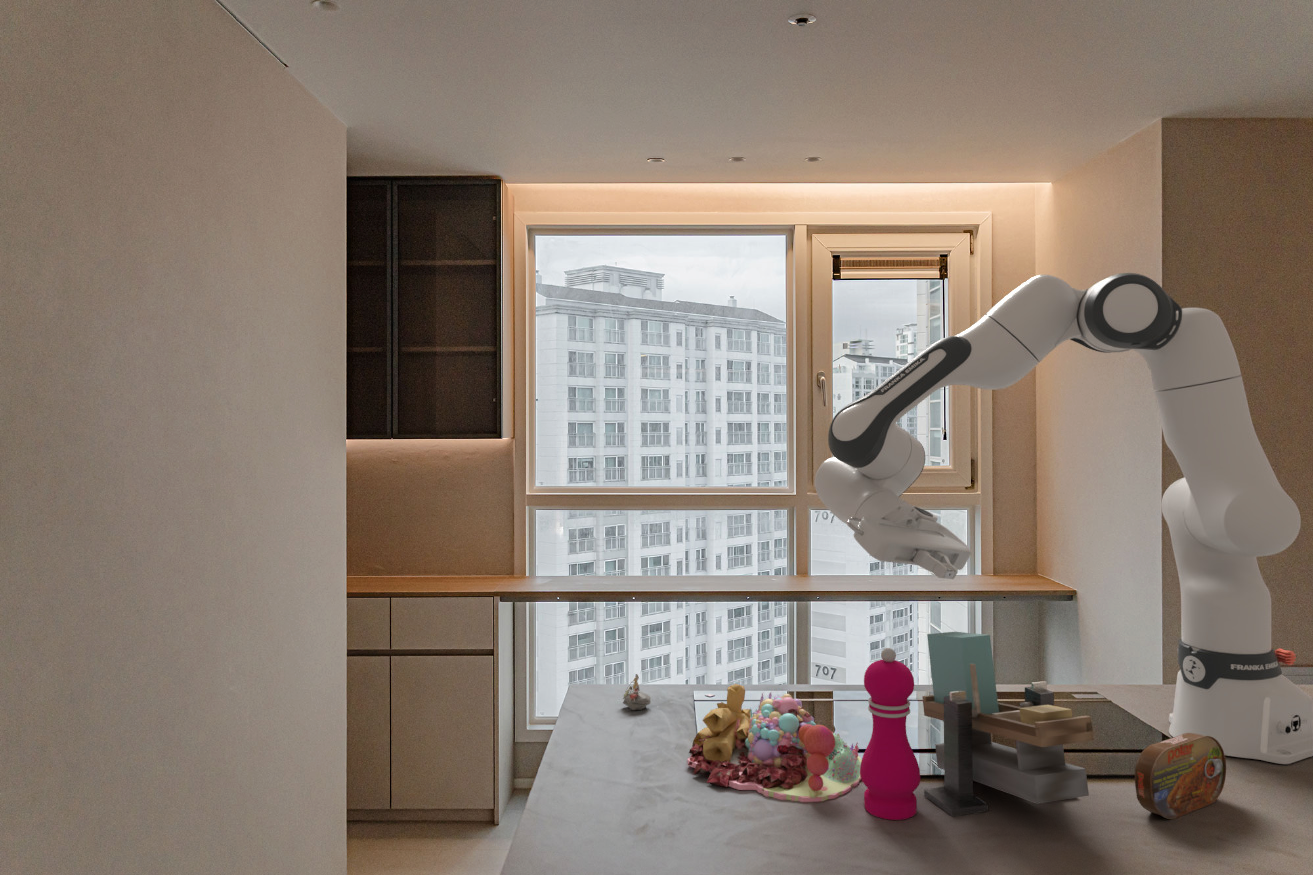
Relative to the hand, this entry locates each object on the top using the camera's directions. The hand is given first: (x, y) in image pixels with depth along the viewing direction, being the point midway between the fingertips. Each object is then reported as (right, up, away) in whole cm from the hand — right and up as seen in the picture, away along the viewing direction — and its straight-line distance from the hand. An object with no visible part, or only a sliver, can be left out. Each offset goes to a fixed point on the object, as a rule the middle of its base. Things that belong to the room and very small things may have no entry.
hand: (949, 574), depth 125 cm
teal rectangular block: (-1, -17, -9) cm, 19 cm away
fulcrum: (+1, -26, -15) cm, 30 cm away
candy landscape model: (-25, -27, -3) cm, 37 cm away
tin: (+22, -26, -19) cm, 39 cm away
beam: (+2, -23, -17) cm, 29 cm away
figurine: (-46, -26, +21) cm, 57 cm away
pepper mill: (-13, -26, -18) cm, 35 cm away
